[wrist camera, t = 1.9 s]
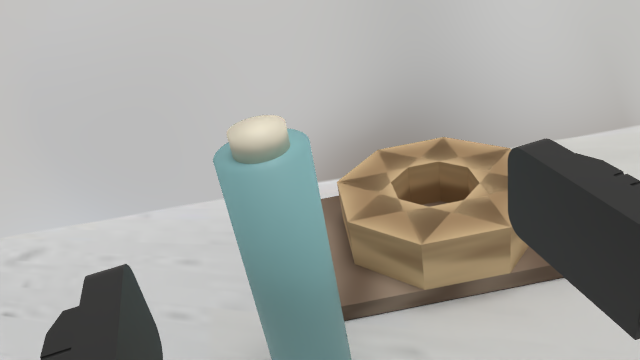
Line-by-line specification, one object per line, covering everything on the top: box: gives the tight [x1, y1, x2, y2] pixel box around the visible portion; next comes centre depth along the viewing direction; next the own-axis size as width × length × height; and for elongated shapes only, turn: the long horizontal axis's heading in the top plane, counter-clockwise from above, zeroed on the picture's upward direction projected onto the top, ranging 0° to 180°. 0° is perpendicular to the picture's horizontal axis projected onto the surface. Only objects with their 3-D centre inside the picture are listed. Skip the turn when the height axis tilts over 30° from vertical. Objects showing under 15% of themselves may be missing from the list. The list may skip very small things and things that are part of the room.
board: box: [321, 196, 563, 321], centre depth 39 cm, size 22×13×1 cm, turn 96°
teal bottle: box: [213, 115, 351, 360], centre depth 25 cm, size 4×4×16 cm
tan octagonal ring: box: [337, 137, 529, 290], centre depth 38 cm, size 13×13×4 cm
